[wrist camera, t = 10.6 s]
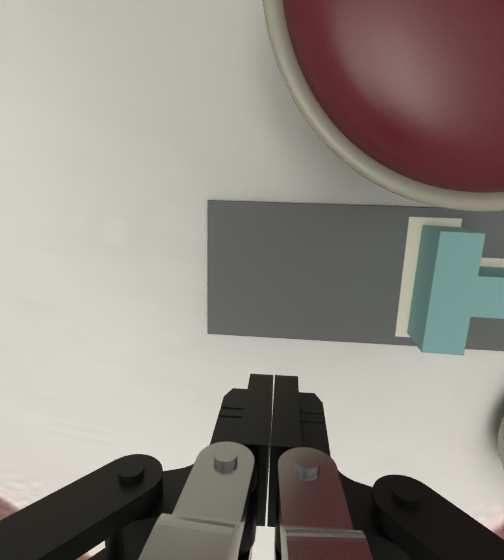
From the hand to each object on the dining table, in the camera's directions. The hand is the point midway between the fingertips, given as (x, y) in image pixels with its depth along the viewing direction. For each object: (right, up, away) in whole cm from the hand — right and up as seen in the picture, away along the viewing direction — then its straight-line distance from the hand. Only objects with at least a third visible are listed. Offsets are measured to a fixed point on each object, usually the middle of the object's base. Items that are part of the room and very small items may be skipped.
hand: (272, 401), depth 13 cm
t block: (+17, +4, +20) cm, 26 cm away
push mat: (+10, +4, +21) cm, 23 cm away
